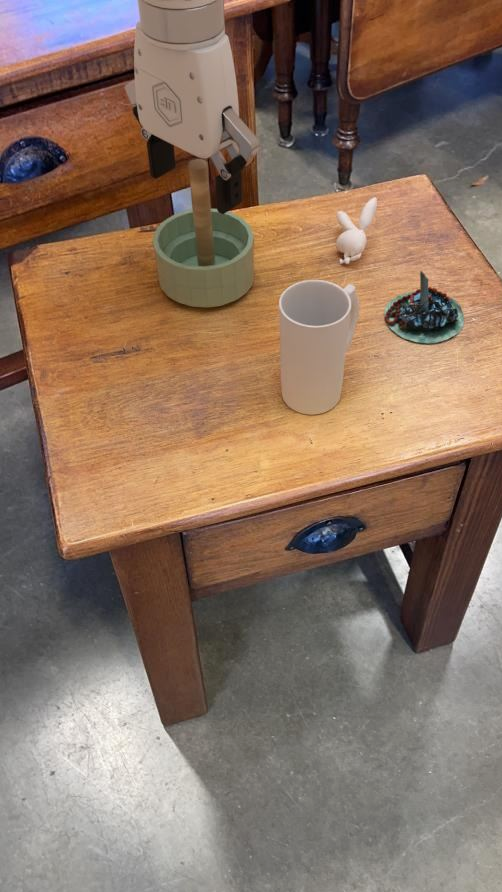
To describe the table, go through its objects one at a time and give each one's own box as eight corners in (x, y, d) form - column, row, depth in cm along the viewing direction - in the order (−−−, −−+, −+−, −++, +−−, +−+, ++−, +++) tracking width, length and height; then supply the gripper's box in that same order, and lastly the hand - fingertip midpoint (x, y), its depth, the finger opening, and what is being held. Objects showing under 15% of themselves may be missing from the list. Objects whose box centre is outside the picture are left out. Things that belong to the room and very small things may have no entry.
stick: (207, 282, 96) (198, 171, 85) (195, 275, 97) (184, 164, 86) (219, 274, 97) (211, 163, 86) (207, 267, 98) (197, 156, 86)
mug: (312, 427, 84) (317, 337, 74) (265, 394, 87) (263, 303, 77) (376, 377, 88) (388, 286, 79) (329, 346, 91) (335, 255, 81)
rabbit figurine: (320, 263, 100) (330, 202, 101) (339, 277, 103) (349, 218, 104) (360, 253, 96) (370, 190, 97) (379, 268, 99) (388, 207, 100)
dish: (420, 336, 88) (421, 266, 89) (376, 348, 94) (377, 282, 94) (473, 347, 93) (473, 280, 93) (428, 358, 99) (428, 295, 99)
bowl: (208, 326, 93) (204, 283, 88) (139, 284, 97) (132, 240, 92) (274, 278, 98) (273, 234, 93) (205, 240, 102) (202, 196, 97)
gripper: (84, -1, 75) (113, 174, 89) (224, 60, 69) (232, 238, 82) (145, -26, 79) (163, 146, 92) (283, 30, 72) (281, 206, 86)
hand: (196, 189), depth 87 cm, fingers open, 9 cm apart
